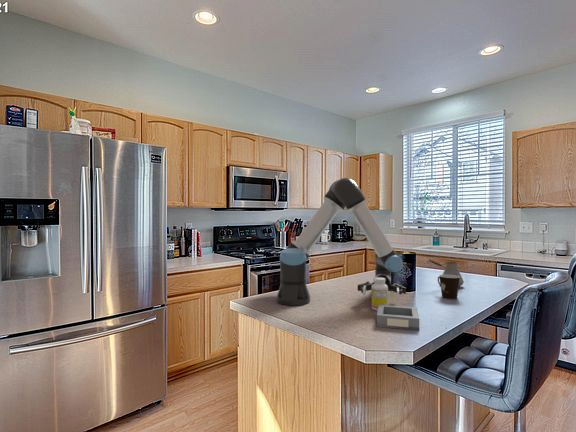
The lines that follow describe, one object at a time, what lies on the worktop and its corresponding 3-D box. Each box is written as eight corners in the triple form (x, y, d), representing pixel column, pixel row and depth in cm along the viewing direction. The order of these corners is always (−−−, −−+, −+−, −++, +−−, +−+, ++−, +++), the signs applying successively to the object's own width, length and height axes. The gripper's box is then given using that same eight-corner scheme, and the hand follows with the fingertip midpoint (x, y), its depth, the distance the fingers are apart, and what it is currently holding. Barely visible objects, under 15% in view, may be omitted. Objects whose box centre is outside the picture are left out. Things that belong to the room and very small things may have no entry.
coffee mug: (462, 300, 152) (462, 278, 152) (441, 299, 154) (441, 277, 154) (454, 294, 164) (454, 273, 164) (436, 293, 165) (435, 273, 165)
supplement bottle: (375, 306, 144) (375, 276, 144) (390, 308, 140) (390, 278, 140) (368, 309, 139) (368, 278, 139) (384, 312, 135) (383, 280, 135)
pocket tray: (376, 326, 118) (376, 315, 118) (378, 314, 132) (378, 304, 132) (419, 330, 114) (419, 318, 114) (417, 318, 128) (416, 307, 128)
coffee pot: (451, 283, 188) (451, 256, 188) (468, 287, 178) (468, 259, 178) (420, 286, 181) (420, 258, 181) (436, 291, 171) (436, 261, 170)
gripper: (410, 292, 155) (413, 304, 135) (355, 289, 162) (350, 300, 142) (410, 276, 155) (412, 285, 135) (355, 273, 162) (349, 282, 142)
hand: (380, 293), depth 138 cm, fingers open, 13 cm apart
